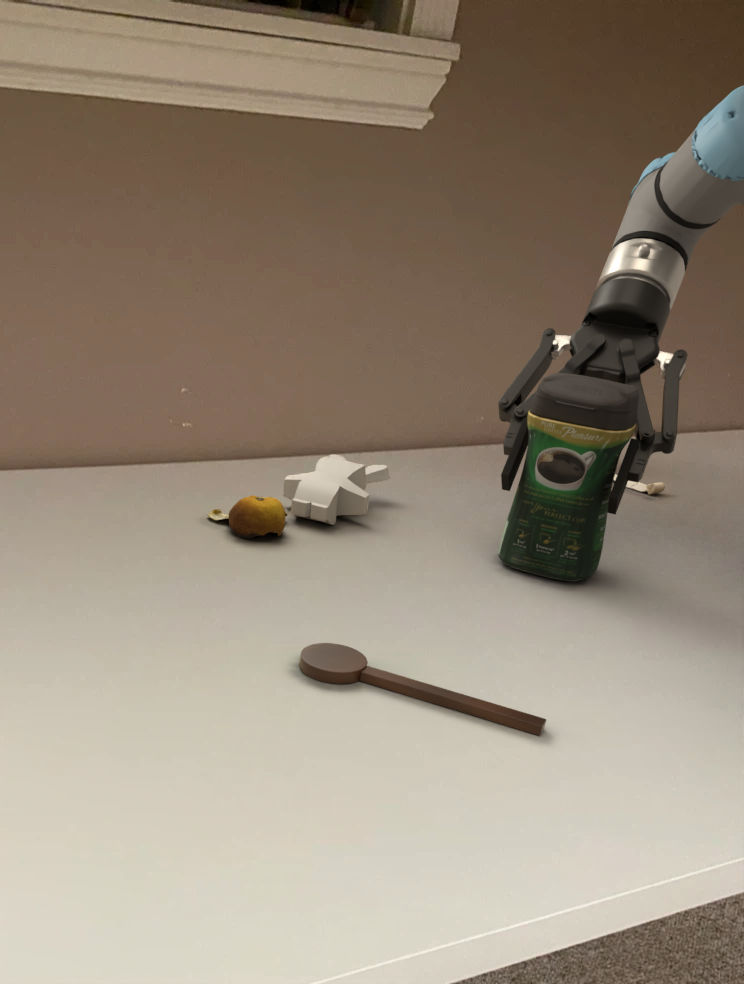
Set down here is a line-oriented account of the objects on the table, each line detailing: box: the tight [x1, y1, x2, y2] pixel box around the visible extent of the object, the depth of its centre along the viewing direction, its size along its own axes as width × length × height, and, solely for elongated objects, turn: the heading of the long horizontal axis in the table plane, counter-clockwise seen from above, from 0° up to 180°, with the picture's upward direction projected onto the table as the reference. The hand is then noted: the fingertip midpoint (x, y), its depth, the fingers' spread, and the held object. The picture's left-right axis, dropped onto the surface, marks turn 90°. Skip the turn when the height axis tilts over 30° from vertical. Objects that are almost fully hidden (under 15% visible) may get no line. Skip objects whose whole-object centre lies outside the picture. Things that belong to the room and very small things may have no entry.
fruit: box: [207, 494, 288, 539], centre depth 112 cm, size 8×8×4 cm
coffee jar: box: [497, 372, 639, 582], centre depth 106 cm, size 10×8×19 cm
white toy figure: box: [282, 453, 391, 526], centre depth 120 cm, size 10×5×15 cm
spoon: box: [298, 642, 547, 736], centre depth 83 cm, size 19×5×1 cm, turn 61°
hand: (557, 494), depth 104 cm, fingers closed on coffee jar, 9 cm apart
